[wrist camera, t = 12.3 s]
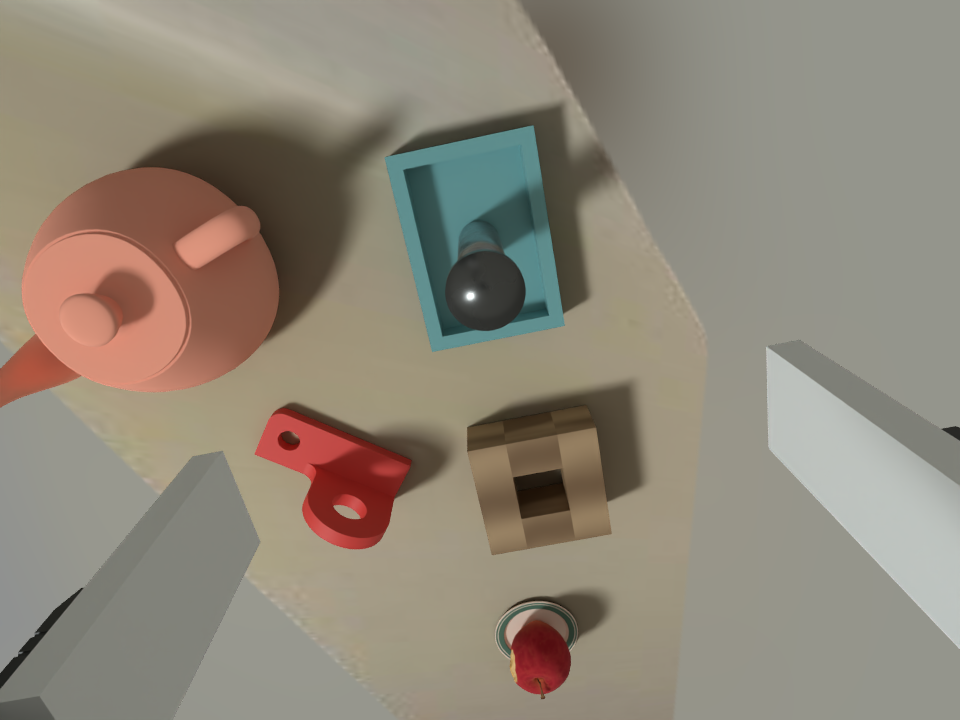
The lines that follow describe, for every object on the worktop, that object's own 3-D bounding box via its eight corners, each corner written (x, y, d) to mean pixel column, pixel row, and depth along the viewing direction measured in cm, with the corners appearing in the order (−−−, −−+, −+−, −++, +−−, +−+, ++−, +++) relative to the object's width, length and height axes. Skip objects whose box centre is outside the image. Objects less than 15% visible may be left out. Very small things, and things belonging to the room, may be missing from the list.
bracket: (411, 459, 50) (402, 515, 43) (390, 500, 52) (377, 561, 44) (277, 403, 48) (242, 452, 41) (258, 447, 50) (222, 502, 42)
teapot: (139, 425, 49) (38, 515, 37) (-6, 273, 44) (-174, 322, 32) (355, 283, 45) (317, 335, 33) (221, 100, 40) (123, 86, 28)
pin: (446, 219, 42) (437, 261, 29) (500, 208, 42) (518, 244, 28) (458, 273, 44) (454, 337, 30) (510, 262, 44) (531, 322, 30)
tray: (389, 155, 41) (384, 157, 39) (529, 125, 41) (533, 125, 39) (434, 340, 46) (432, 351, 44) (559, 315, 46) (564, 325, 44)
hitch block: (467, 427, 49) (467, 451, 45) (586, 404, 49) (596, 427, 45) (490, 525, 53) (492, 555, 49) (601, 505, 52) (611, 534, 48)
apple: (527, 672, 59) (534, 734, 53) (478, 625, 57) (479, 684, 51) (593, 634, 58) (607, 693, 52) (544, 583, 55) (554, 639, 49)
